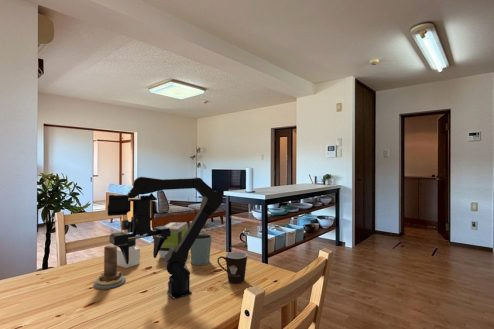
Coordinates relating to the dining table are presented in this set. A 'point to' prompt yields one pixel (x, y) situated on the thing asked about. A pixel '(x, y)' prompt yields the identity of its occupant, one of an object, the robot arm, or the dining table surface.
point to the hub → (104, 283)
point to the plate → (109, 285)
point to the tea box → (173, 237)
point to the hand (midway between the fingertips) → (141, 260)
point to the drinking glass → (201, 249)
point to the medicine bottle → (133, 255)
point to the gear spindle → (110, 264)
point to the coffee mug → (235, 266)
